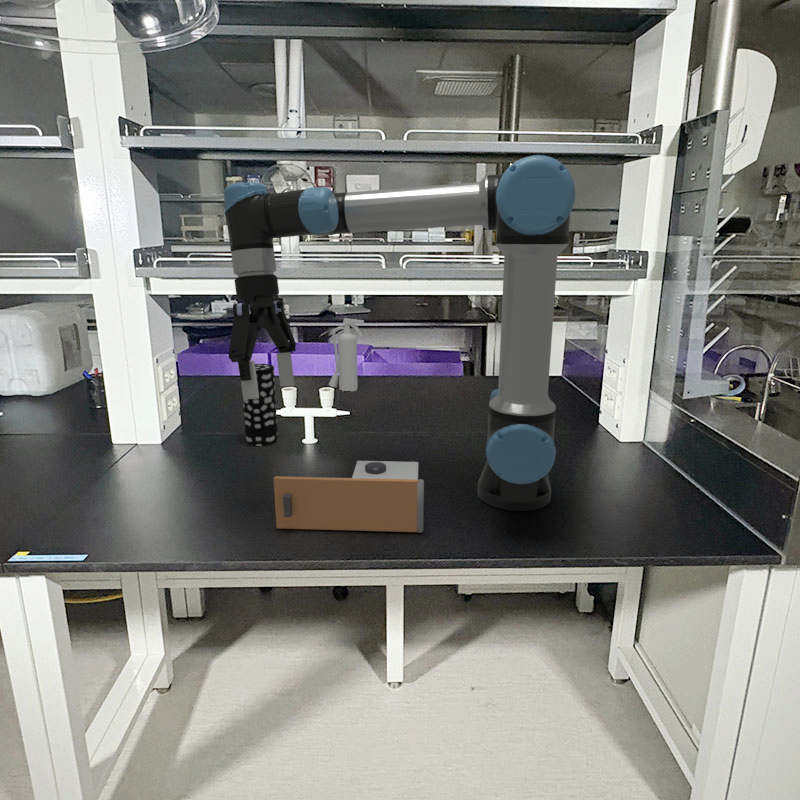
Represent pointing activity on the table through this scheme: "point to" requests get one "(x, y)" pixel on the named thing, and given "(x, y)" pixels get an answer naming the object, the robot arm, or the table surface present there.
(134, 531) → the table surface
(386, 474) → the cabinet housing
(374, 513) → the side door
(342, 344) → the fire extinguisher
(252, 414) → the spotted tube
